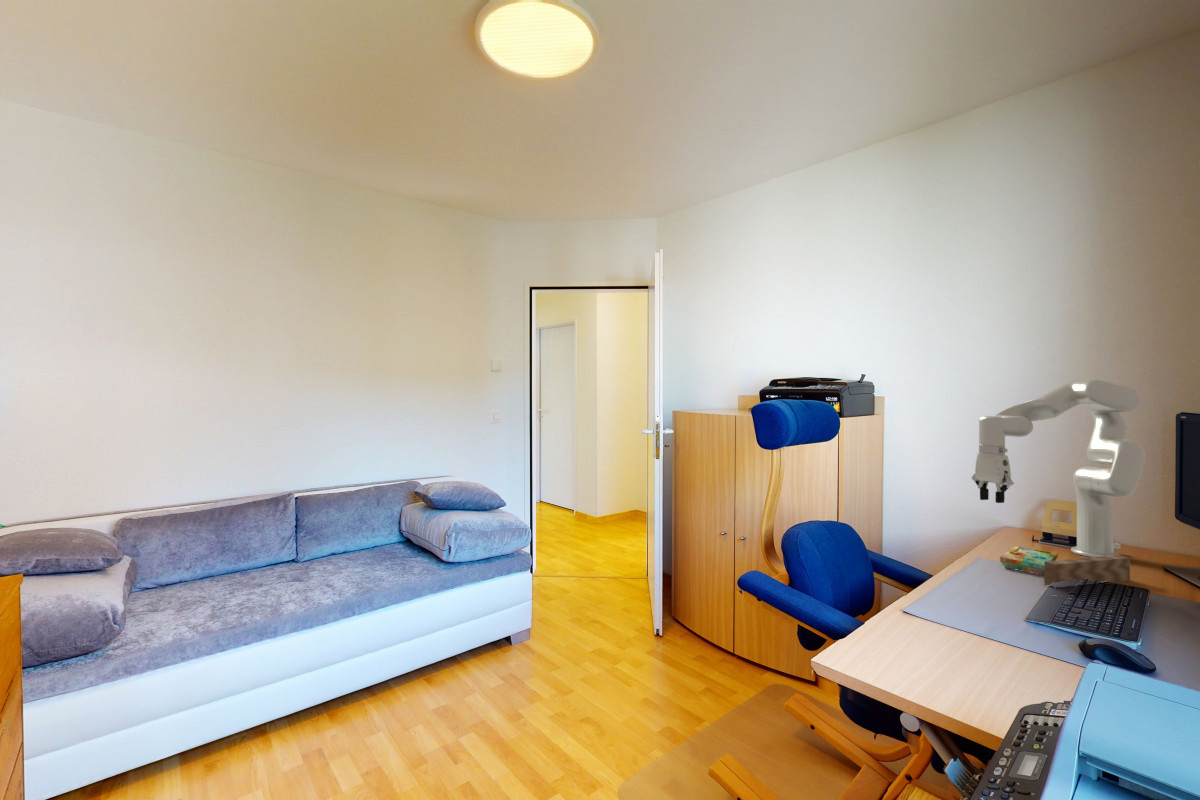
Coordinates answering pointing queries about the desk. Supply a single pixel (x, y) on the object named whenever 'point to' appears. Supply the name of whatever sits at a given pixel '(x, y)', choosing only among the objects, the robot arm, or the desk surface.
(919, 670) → the desk surface
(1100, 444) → the robot arm
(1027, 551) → the puzzle game
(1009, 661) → the desk surface
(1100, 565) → the rail
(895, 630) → the desk surface
